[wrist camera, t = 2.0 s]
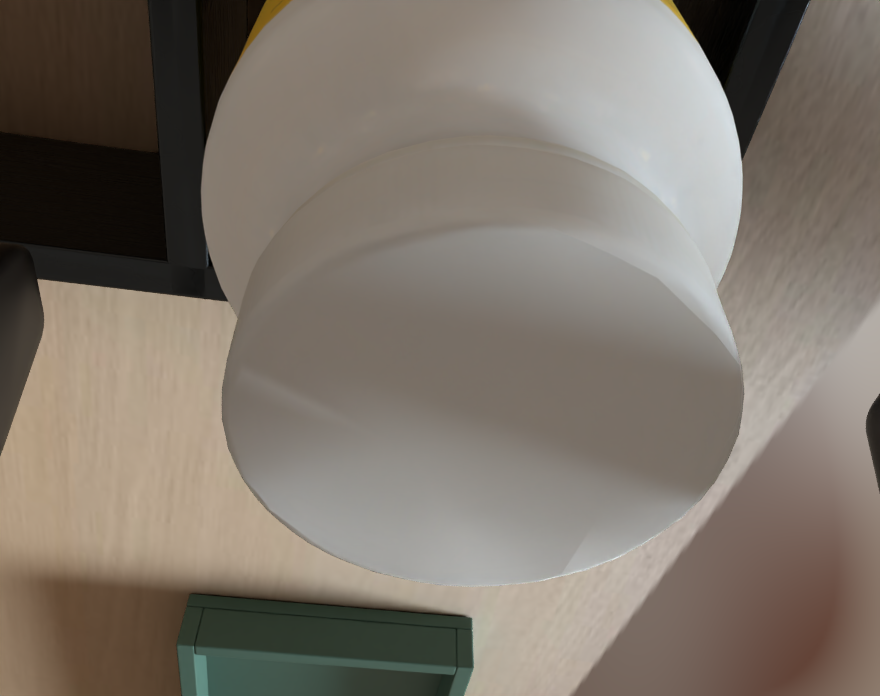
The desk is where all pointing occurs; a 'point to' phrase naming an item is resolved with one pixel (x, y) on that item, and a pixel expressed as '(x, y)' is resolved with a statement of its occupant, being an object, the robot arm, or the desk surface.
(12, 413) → the robot arm
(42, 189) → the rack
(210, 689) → the tray
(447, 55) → the pill bottle
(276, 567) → the desk surface
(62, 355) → the desk surface
